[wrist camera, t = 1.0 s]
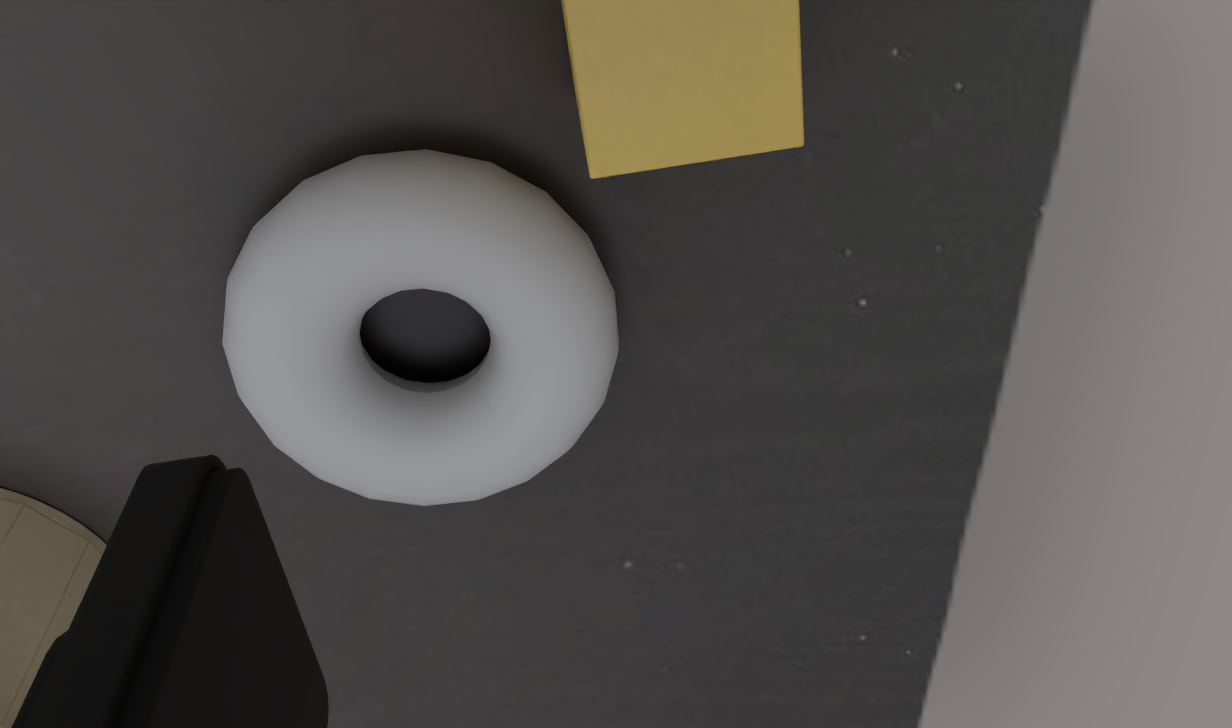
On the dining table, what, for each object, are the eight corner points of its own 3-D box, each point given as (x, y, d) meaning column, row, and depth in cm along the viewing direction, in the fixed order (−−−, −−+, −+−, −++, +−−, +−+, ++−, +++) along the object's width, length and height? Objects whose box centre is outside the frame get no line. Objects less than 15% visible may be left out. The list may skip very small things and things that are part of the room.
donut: (290, 68, 26) (198, 402, 31) (265, 115, 23) (167, 477, 28) (672, 206, 29) (536, 494, 33) (692, 264, 26) (540, 571, 30)
